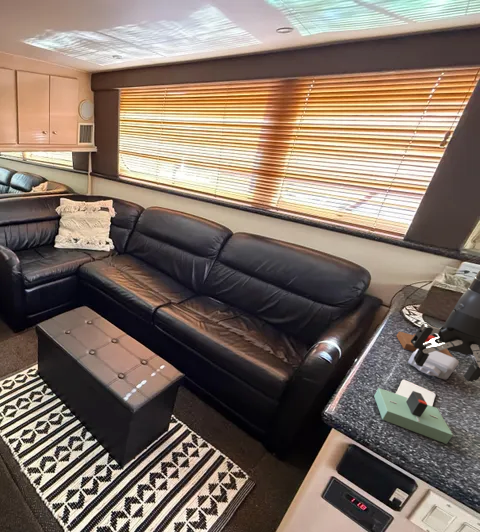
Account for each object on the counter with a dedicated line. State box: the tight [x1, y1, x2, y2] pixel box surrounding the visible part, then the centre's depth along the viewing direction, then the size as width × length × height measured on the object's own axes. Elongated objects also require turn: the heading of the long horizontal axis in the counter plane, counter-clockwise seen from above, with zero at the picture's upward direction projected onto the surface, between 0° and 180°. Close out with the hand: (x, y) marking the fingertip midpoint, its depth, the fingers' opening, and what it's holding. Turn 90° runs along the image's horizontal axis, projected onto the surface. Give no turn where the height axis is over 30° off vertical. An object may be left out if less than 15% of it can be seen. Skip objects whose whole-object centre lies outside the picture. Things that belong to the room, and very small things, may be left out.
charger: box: [407, 349, 460, 380], centre depth 102 cm, size 5×9×15 cm
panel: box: [373, 387, 454, 445], centre depth 82 cm, size 12×10×3 cm
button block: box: [396, 330, 454, 358], centre depth 114 cm, size 12×10×4 cm
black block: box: [406, 391, 428, 417], centre depth 81 cm, size 5×2×4 cm, turn 148°
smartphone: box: [394, 379, 436, 407], centre depth 90 cm, size 7×1×15 cm
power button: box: [426, 335, 437, 342], centre depth 113 cm, size 4×4×2 cm
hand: (442, 371), depth 75 cm, fingers open, 8 cm apart
